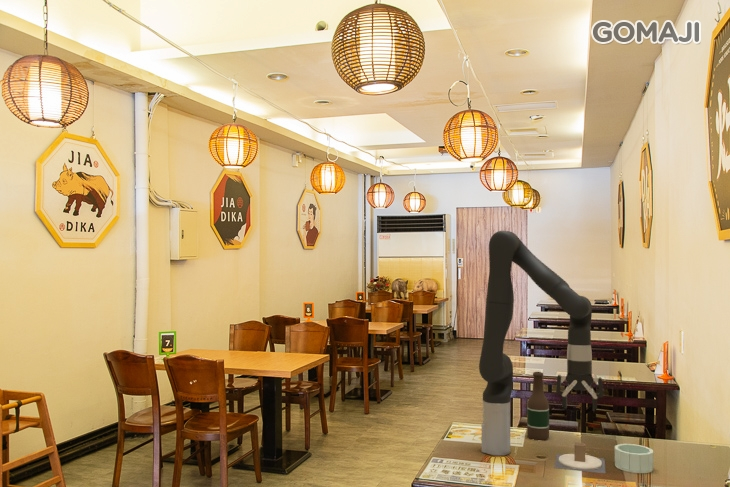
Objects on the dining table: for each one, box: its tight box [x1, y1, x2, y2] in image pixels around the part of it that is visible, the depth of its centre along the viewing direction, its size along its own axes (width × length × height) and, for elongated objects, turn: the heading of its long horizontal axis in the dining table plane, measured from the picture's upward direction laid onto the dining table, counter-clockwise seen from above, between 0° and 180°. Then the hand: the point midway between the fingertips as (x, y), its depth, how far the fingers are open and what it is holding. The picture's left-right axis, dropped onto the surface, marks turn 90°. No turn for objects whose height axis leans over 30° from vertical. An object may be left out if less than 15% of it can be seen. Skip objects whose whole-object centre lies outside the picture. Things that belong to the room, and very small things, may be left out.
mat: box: [554, 453, 606, 474], centre depth 201 cm, size 15×15×1 cm
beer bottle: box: [526, 371, 550, 441], centre depth 231 cm, size 8×8×24 cm
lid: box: [559, 442, 602, 470], centre depth 201 cm, size 13×13×6 cm
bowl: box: [614, 443, 654, 474], centre depth 198 cm, size 11×11×6 cm
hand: (579, 409), depth 202 cm, fingers open, 8 cm apart
